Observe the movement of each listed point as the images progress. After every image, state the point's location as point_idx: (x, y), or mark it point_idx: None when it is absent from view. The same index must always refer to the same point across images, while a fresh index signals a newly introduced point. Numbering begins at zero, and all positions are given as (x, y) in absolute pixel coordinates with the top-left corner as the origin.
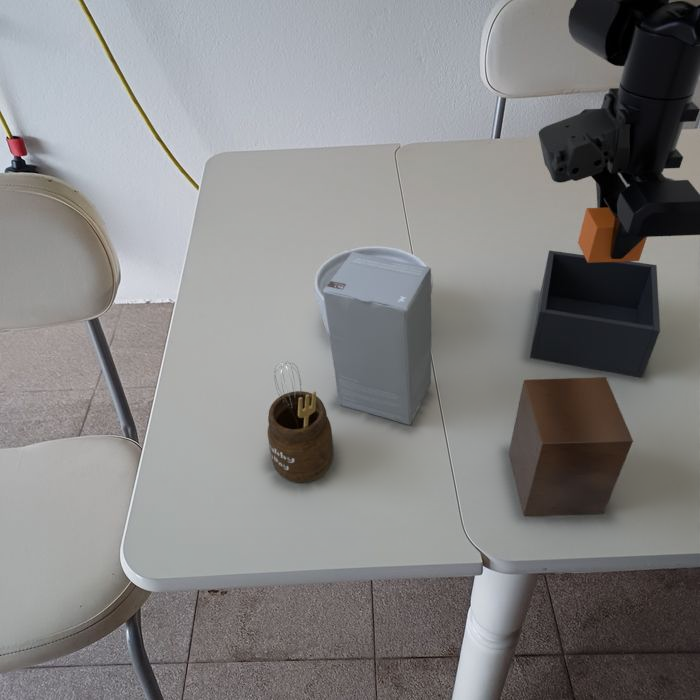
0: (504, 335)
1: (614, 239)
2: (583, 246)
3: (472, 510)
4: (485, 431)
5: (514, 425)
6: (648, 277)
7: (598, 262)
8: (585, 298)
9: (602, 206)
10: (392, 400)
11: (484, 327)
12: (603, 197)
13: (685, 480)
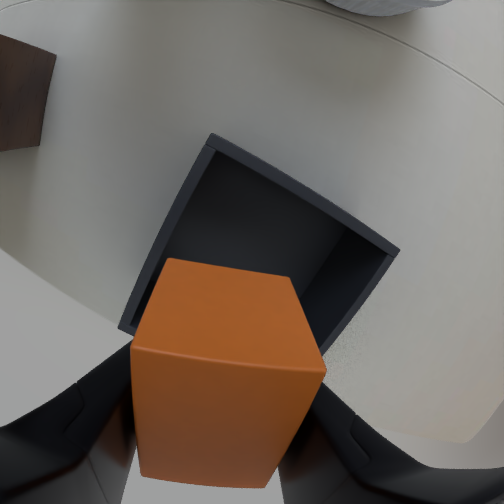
0: (280, 116)
1: (105, 369)
2: (234, 277)
3: (15, 14)
4: (94, 32)
5: (26, 43)
6: None
7: (336, 321)
8: (315, 278)
9: (312, 422)
10: None
11: (308, 94)
12: (326, 453)
13: (5, 243)
